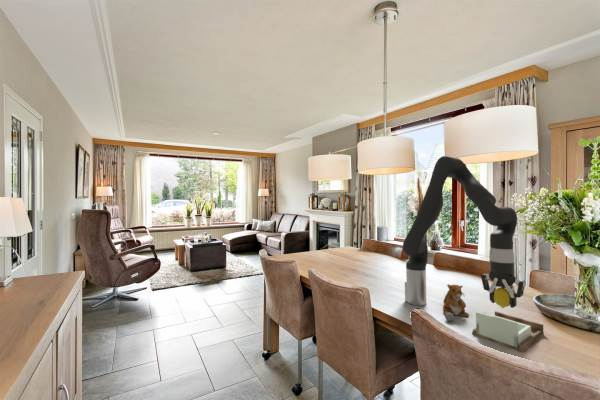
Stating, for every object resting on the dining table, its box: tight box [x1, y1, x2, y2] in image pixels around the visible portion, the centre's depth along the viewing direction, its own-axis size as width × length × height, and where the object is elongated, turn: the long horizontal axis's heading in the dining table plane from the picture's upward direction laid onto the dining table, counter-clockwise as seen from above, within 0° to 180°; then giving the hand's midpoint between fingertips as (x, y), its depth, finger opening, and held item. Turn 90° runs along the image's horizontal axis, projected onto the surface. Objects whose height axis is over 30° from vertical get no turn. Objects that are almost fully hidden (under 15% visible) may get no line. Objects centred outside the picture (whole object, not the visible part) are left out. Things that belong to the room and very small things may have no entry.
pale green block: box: [475, 311, 531, 348], centre depth 105 cm, size 13×13×8 cm
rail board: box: [471, 311, 545, 353], centre depth 107 cm, size 16×21×4 cm
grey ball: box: [444, 313, 455, 322], centre depth 120 cm, size 4×4×4 cm
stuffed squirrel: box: [442, 283, 470, 318], centre depth 129 cm, size 10×14×13 cm
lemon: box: [494, 287, 511, 309], centre depth 105 cm, size 6×6×8 cm
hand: (502, 304), depth 105 cm, fingers closed on lemon, 5 cm apart
